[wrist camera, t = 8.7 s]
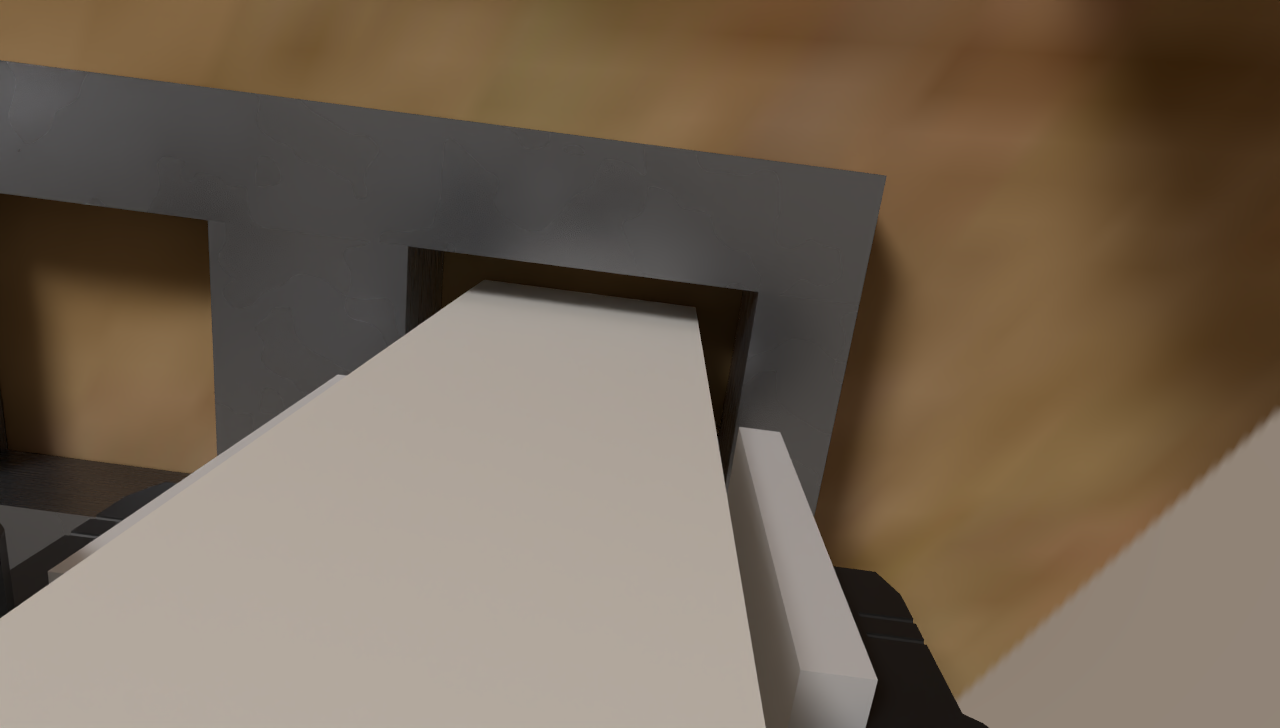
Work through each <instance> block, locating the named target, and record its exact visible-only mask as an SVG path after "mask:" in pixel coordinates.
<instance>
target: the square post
mask: <svg viewBox="0 0 1280 728" xmlns="http://www.w3.org/2000/svg"><path fill="white" fill-rule="evenodd" d="M0 728H766V727H765V721H764V715H763V709H762V703H761V697H760V691H759V685H758V679H757V673H756V667H755V661H754V655H753V649H752V643H751V637H750V631H749V625H748V619H747V613H746V607H745V601H744V595H743V589H742V583H741V577H740V571H739V565H738V559H737V553H736V547H735V541H734V535H733V529H732V523H731V517H730V511H729V505H728V499H727V493H726V487H725V481H724V475H723V469H722V463H721V457H720V451H719V445H718V439H717V433H716V427H715V421H714V415H713V409H712V403H711V397H710V391H709V385H708V379H707V373H706V367H705V361H704V355H703V349H702V343H701V337H700V331H699V325H698V319H697V313H696V307H691V306H683V305H676V304H668V303H660V302H653V301H645V300H637V299H630V298H622V297H614V296H607V295H599V294H591V293H584V292H576V291H568V290H561V289H553V288H545V287H538V286H530V285H522V284H515V283H507V282H499V281H492V280H483V281H481V282H480V283H478V284H477V285H476V286H474V287H473V288H471V289H470V290H468V291H467V292H466V293H464V294H463V295H461V296H460V297H458V298H457V299H456V300H454V301H453V302H451V303H450V304H448V305H447V306H446V307H444V308H443V309H441V310H440V311H438V312H437V313H436V314H434V315H433V316H431V317H430V318H428V319H427V320H426V321H424V322H423V323H421V324H420V325H418V326H417V327H416V328H414V329H413V330H411V331H410V332H408V333H407V334H406V335H404V336H403V337H401V338H400V339H398V340H397V341H396V342H394V343H393V344H391V345H390V346H388V347H387V348H386V349H384V350H383V351H381V352H380V353H378V354H377V355H376V356H374V357H373V358H371V359H370V360H368V361H367V362H366V363H364V364H363V365H361V366H360V367H358V368H357V369H356V370H354V371H353V372H351V373H350V374H348V375H347V376H346V377H344V378H343V379H341V380H340V381H338V382H337V383H336V384H334V385H333V386H331V387H330V388H328V389H327V390H326V391H324V392H323V393H321V394H320V395H318V396H317V397H316V398H314V399H313V400H311V401H310V402H308V403H307V404H306V405H304V406H303V407H301V408H300V409H298V410H297V411H296V412H294V413H293V414H291V415H290V416H288V417H287V418H286V419H284V420H283V421H281V422H280V423H278V424H277V425H276V426H274V427H273V428H271V429H270V430H268V431H267V432H266V433H264V434H263V435H261V436H260V437H258V438H257V439H256V440H254V441H253V442H251V443H250V444H248V445H247V446H246V447H244V448H243V449H241V450H240V451H238V452H237V453H236V454H234V455H233V456H231V457H230V458H228V459H227V460H226V461H224V462H223V463H221V464H220V465H218V466H217V467H216V468H214V469H213V470H211V471H210V472H208V473H207V474H206V475H204V476H203V477H201V478H200V479H199V480H197V481H196V482H194V483H193V484H191V485H190V486H189V487H187V488H186V489H184V490H183V491H181V492H180V493H179V494H177V495H176V496H174V497H173V498H171V499H170V500H169V501H167V502H166V503H164V504H163V505H161V506H160V507H159V508H157V509H156V510H154V511H153V512H151V513H150V514H149V515H147V516H146V517H144V518H143V519H141V520H140V521H139V522H137V523H136V524H134V525H133V526H131V527H130V528H129V529H127V530H126V531H124V532H123V533H121V534H120V535H119V536H117V537H116V538H114V539H113V540H111V541H110V542H109V543H107V544H106V545H104V546H103V547H101V548H100V549H99V550H97V551H96V552H94V553H93V554H91V555H90V556H89V557H87V558H86V559H84V560H83V561H81V562H80V563H79V564H77V565H76V566H74V567H73V568H71V569H70V570H69V571H67V572H66V573H64V574H63V575H61V576H60V577H59V578H57V579H56V580H54V581H53V582H51V583H50V584H49V585H47V586H46V587H44V588H43V589H41V590H40V591H39V592H37V593H36V594H34V595H33V596H31V597H30V598H29V599H27V600H26V601H24V602H23V603H21V604H20V605H19V606H17V607H16V608H14V609H13V610H11V611H10V612H9V613H7V614H6V615H4V616H3V617H1V618H0Z"/></svg>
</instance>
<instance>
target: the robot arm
mask: <svg viewBox="0 0 1280 728" xmlns="http://www.w3.org/2000/svg"><path fill="white" fill-rule="evenodd" d="M344 377H346V375H336V376H335V377H333V378H332V379H330V380H329V381H327V382H326V383H325V384H323V385H322V386H320V387H319V388H317V389H316V390H314V391H313V392H311V393H310V394H308V395H307V396H305V397H304V398H302V399H301V400H299V401H298V402H297V403H295V404H294V405H292V406H291V407H289V408H288V409H286V410H285V411H283V412H282V413H280V414H279V415H277V416H276V417H274V418H273V419H271V420H270V421H269V422H267V423H266V424H264V425H263V426H261V427H260V428H258V429H257V430H255V431H254V432H252V433H251V434H249V435H248V436H246V437H245V438H243V439H242V440H241V441H239V442H238V443H236V444H235V445H233V446H232V447H230V448H229V449H227V450H226V451H224V452H223V453H221V454H220V455H218V456H217V457H216V458H214V459H213V460H211V461H210V462H208V463H207V464H205V465H204V466H202V467H201V468H199V469H198V470H196V471H195V472H193V473H192V474H190V475H189V476H188V477H186V478H185V479H183V480H182V481H180V482H179V483H172V482H163V483H160V484H158V485H155V486H152V487H149V488H147V489H144V490H141V491H138V492H136V493H133V494H130V495H127V496H125V497H124V498H122V499H120V500H119V501H117V502H116V503H114V504H113V505H111V506H109V507H108V508H106V509H105V510H103V511H102V512H100V513H98V514H97V515H96V518H95V519H89V520H87V521H86V522H84V523H83V524H81V525H80V526H78V527H77V528H75V529H73V530H72V531H71V534H70V536H69V535H64V536H62V537H61V538H59V539H58V540H56V541H55V542H53V543H51V544H50V545H48V546H47V547H45V548H44V549H42V550H40V551H39V552H37V553H36V554H34V555H33V556H31V557H29V558H28V559H26V560H25V561H23V562H22V563H20V564H18V565H17V566H15V567H14V568H12V569H11V570H10V566H9V559H8V551H7V544H6V536H5V529H4V528H3V526H2V525H1V523H0V618H1V617H3V616H4V615H6V614H7V613H9V612H10V611H11V610H13V609H14V608H16V607H17V606H19V605H20V604H21V603H23V602H24V601H26V600H27V599H29V598H30V597H31V596H33V595H34V594H36V593H37V592H39V591H40V590H41V589H43V588H44V587H46V586H47V585H49V584H50V583H51V582H53V581H54V580H56V579H57V578H59V577H60V576H61V575H63V574H64V573H66V572H67V571H69V570H70V569H71V568H73V567H74V566H76V565H77V564H79V563H80V562H81V561H83V560H84V559H86V558H87V557H89V556H90V555H91V554H93V553H94V552H96V551H97V550H99V549H100V548H101V547H103V546H104V545H106V544H107V543H109V542H110V541H111V540H113V539H114V538H116V537H117V536H119V535H120V534H121V533H123V532H124V531H126V530H127V529H129V528H130V527H131V526H133V525H134V524H136V523H137V522H139V521H140V520H141V519H143V518H144V517H146V516H147V515H149V514H150V513H151V512H153V511H154V510H156V509H157V508H159V507H160V506H161V505H163V504H164V503H166V502H167V501H169V500H170V499H171V498H173V497H174V496H176V495H177V494H179V493H180V492H181V491H183V490H184V489H186V488H187V487H189V486H190V485H191V484H193V483H194V482H196V481H197V480H199V479H200V478H201V477H203V476H204V475H206V474H207V473H208V472H210V471H211V470H213V469H214V468H216V467H217V466H218V465H220V464H221V463H223V462H224V461H226V460H227V459H228V458H230V457H231V456H233V455H234V454H236V453H237V452H238V451H240V450H241V449H243V448H244V447H246V446H247V445H248V444H250V443H251V442H253V441H254V440H256V439H257V438H258V437H260V436H261V435H263V434H264V433H266V432H267V431H268V430H270V429H271V428H273V427H274V426H276V425H277V424H278V423H280V422H281V421H283V420H284V419H286V418H287V417H288V416H290V415H291V414H293V413H294V412H296V411H297V410H298V409H300V408H301V407H303V406H304V405H306V404H307V403H308V402H310V401H311V400H313V399H314V398H316V397H317V396H318V395H320V394H321V393H323V392H324V391H326V390H327V389H328V388H330V387H331V386H333V385H334V384H336V383H337V382H338V381H340V380H341V379H343V378H344ZM727 499H728V505H729V511H730V517H731V523H732V529H733V535H734V541H735V547H736V553H737V559H738V565H739V571H740V577H741V583H742V589H743V595H744V601H745V607H746V613H747V619H748V625H749V631H750V637H751V643H752V649H753V655H754V661H755V667H756V673H757V679H758V685H759V691H760V697H761V703H762V709H763V715H764V721H765V727H766V728H988V727H987V726H986V725H984V724H983V723H981V722H979V721H977V720H975V719H973V718H970V717H968V716H966V715H964V714H962V712H961V710H960V708H959V706H958V704H957V702H956V700H955V699H954V697H953V695H952V693H951V691H950V689H949V687H948V685H947V683H946V681H945V679H944V677H943V675H942V674H941V672H940V670H939V668H938V666H937V664H936V662H935V660H934V658H933V656H932V654H931V652H930V650H929V649H928V647H927V645H924V639H923V637H922V635H921V633H920V631H919V629H918V627H917V625H916V624H913V618H912V616H911V614H910V612H909V610H908V608H907V606H906V604H905V602H904V600H903V599H902V597H901V595H900V594H899V593H898V592H897V591H896V590H895V589H894V588H893V587H891V586H890V585H889V584H888V583H887V582H886V581H885V580H884V579H883V578H882V577H880V576H879V575H878V574H877V573H876V572H872V571H864V570H857V569H849V568H841V567H834V566H833V565H832V562H831V560H830V557H829V555H828V552H827V550H826V547H825V545H824V542H823V540H822V537H821V535H820V532H819V529H818V527H817V524H816V522H815V519H814V517H813V514H812V512H811V509H810V507H809V504H808V502H807V499H806V496H805V494H804V491H803V489H802V486H801V484H800V481H799V479H798V476H797V474H796V471H795V468H794V466H793V463H792V461H791V458H790V456H789V453H788V451H787V448H786V446H785V443H784V441H783V438H782V435H781V433H780V432H775V431H767V430H760V429H752V428H744V427H739V430H738V436H737V442H736V447H735V453H734V459H733V465H732V470H731V476H730V482H729V488H728V493H727Z"/></svg>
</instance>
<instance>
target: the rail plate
mask: <svg viewBox="0 0 1280 728" xmlns="http://www.w3.org/2000/svg"><path fill="white" fill-rule="evenodd" d="M885 181H886V176H885V175H877V174H869V173H862V172H854V171H846V170H839V169H831V168H823V167H816V166H808V165H800V164H793V163H785V162H777V161H769V160H762V159H754V158H746V157H739V156H731V155H723V154H716V153H708V152H700V151H693V150H685V149H677V148H670V147H662V146H654V145H646V144H639V143H631V142H623V141H616V140H608V139H600V138H593V137H585V136H577V135H570V134H562V133H554V132H546V131H539V130H531V129H523V128H516V127H508V126H500V125H493V124H485V123H477V122H470V121H462V120H454V119H447V118H439V117H431V116H423V115H416V114H408V113H400V112H393V111H385V110H377V109H370V108H362V107H354V106H347V105H339V104H331V103H323V102H316V101H308V100H300V99H293V98H285V97H277V96H270V95H262V94H254V93H247V92H239V91H231V90H224V89H216V88H208V87H200V86H193V85H185V84H177V83H170V82H162V81H154V80H147V79H139V78H131V77H124V76H116V75H108V74H100V73H93V72H85V71H77V70H70V69H62V68H54V67H47V66H39V65H31V64H24V63H16V62H8V61H1V60H0V193H3V194H11V195H18V196H26V197H34V198H41V199H49V200H57V201H64V202H72V203H80V204H87V205H95V206H103V207H110V208H118V209H126V210H133V211H141V212H149V213H156V214H164V215H172V216H179V217H187V218H195V219H202V220H208V236H209V261H210V285H211V310H212V335H213V359H214V384H215V409H216V434H217V456H218V455H220V454H221V453H223V452H224V451H226V450H227V449H229V448H230V447H232V446H233V445H235V444H236V443H238V442H239V441H241V440H242V439H243V438H245V437H246V436H248V435H249V434H251V433H252V432H254V431H255V430H257V429H258V428H260V427H261V426H263V425H264V424H266V423H267V422H269V421H270V420H271V419H273V418H274V417H276V416H277V415H279V414H280V413H282V412H283V411H285V410H286V409H288V408H289V407H291V406H292V405H294V404H295V403H297V402H298V401H299V400H301V399H302V398H304V397H305V396H307V395H308V394H310V393H311V392H313V391H314V390H316V389H317V388H319V387H320V386H322V385H323V384H325V383H326V382H327V381H329V380H330V379H332V378H333V377H335V376H336V375H346V376H347V375H348V374H350V373H351V372H353V371H354V370H356V369H357V368H358V367H360V366H361V365H363V364H364V363H366V362H367V361H368V360H370V359H371V358H373V357H374V356H376V355H377V354H378V353H380V352H381V351H383V350H384V349H386V348H387V347H388V346H390V345H391V344H393V343H394V342H396V341H397V340H398V339H400V338H401V337H403V336H404V335H406V334H407V333H408V332H410V331H411V330H413V329H414V328H416V327H417V326H418V325H420V324H421V323H423V322H424V321H426V320H427V319H428V318H430V317H431V316H433V315H434V314H436V313H437V312H438V311H440V310H441V300H442V280H443V260H444V251H448V252H456V253H463V254H471V255H479V256H486V257H494V258H502V259H509V260H517V261H525V262H532V263H540V264H548V265H555V266H563V267H571V268H578V269H586V270H594V271H601V272H609V273H617V274H624V275H632V276H640V277H647V278H655V279H663V280H670V281H678V282H686V283H693V284H701V285H709V286H716V287H724V288H732V289H739V290H743V294H742V300H741V306H740V312H739V318H738V324H737V330H736V336H735V342H734V348H733V354H732V360H731V366H730V372H729V378H728V384H727V390H726V396H725V402H724V408H723V414H722V420H721V426H720V432H719V438H718V445H719V451H720V457H721V463H722V469H723V475H724V481H725V487H726V493H728V488H729V482H730V476H731V470H732V465H733V459H734V453H735V447H736V442H737V436H738V430H739V427H744V428H752V429H760V430H767V431H775V432H780V433H781V435H782V438H783V441H784V443H785V446H786V448H787V451H788V453H789V456H790V458H791V461H792V463H793V466H794V468H795V471H796V474H797V476H798V479H799V481H800V484H801V486H802V489H803V491H804V494H805V496H806V499H807V502H808V504H809V507H810V509H811V512H812V514H813V517H814V515H815V510H816V505H817V501H818V496H819V491H820V486H821V482H822V477H823V472H824V468H825V463H826V458H827V453H828V449H829V444H830V439H831V435H832V430H833V425H834V421H835V416H836V411H837V406H838V402H839V397H840V392H841V388H842V383H843V378H844V374H845V369H846V364H847V359H848V355H849V350H850V345H851V341H852V336H853V331H854V327H855V322H856V317H857V312H858V308H859V303H860V298H861V294H862V289H863V284H864V279H865V275H866V270H867V265H868V261H869V256H870V251H871V247H872V242H873V237H874V232H875V228H876V223H877V218H878V214H879V209H880V204H881V200H882V195H883V190H884V185H885ZM189 475H190V474H188V473H180V472H172V471H165V470H157V469H149V468H142V467H134V466H126V465H119V464H111V463H104V462H96V461H88V460H81V459H73V458H65V457H58V456H50V455H42V454H35V453H27V452H19V451H12V450H8V448H7V441H6V433H5V425H4V417H3V409H2V401H1V393H0V523H1V525H2V526H3V528H4V529H5V536H6V544H7V551H8V559H9V566H10V570H11V569H12V568H14V567H15V566H17V565H18V564H20V563H22V562H23V561H25V560H26V559H28V558H29V557H31V556H33V555H34V554H36V553H37V552H39V551H40V550H42V549H44V548H45V547H47V546H48V545H50V544H51V543H53V542H55V541H56V540H58V539H59V538H61V537H62V536H64V535H69V536H70V534H71V531H72V530H73V529H75V528H77V527H78V526H80V525H81V524H83V523H84V522H86V521H87V520H89V519H95V518H96V515H97V514H98V513H100V512H102V511H103V510H105V509H106V508H108V507H109V506H111V505H113V504H114V503H116V502H117V501H119V500H120V499H122V498H124V497H125V496H127V495H130V494H133V493H136V492H138V491H141V490H144V489H147V488H149V487H152V486H155V485H158V484H160V483H163V482H172V483H179V482H180V481H182V480H183V479H185V478H186V477H188V476H189Z"/></svg>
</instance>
